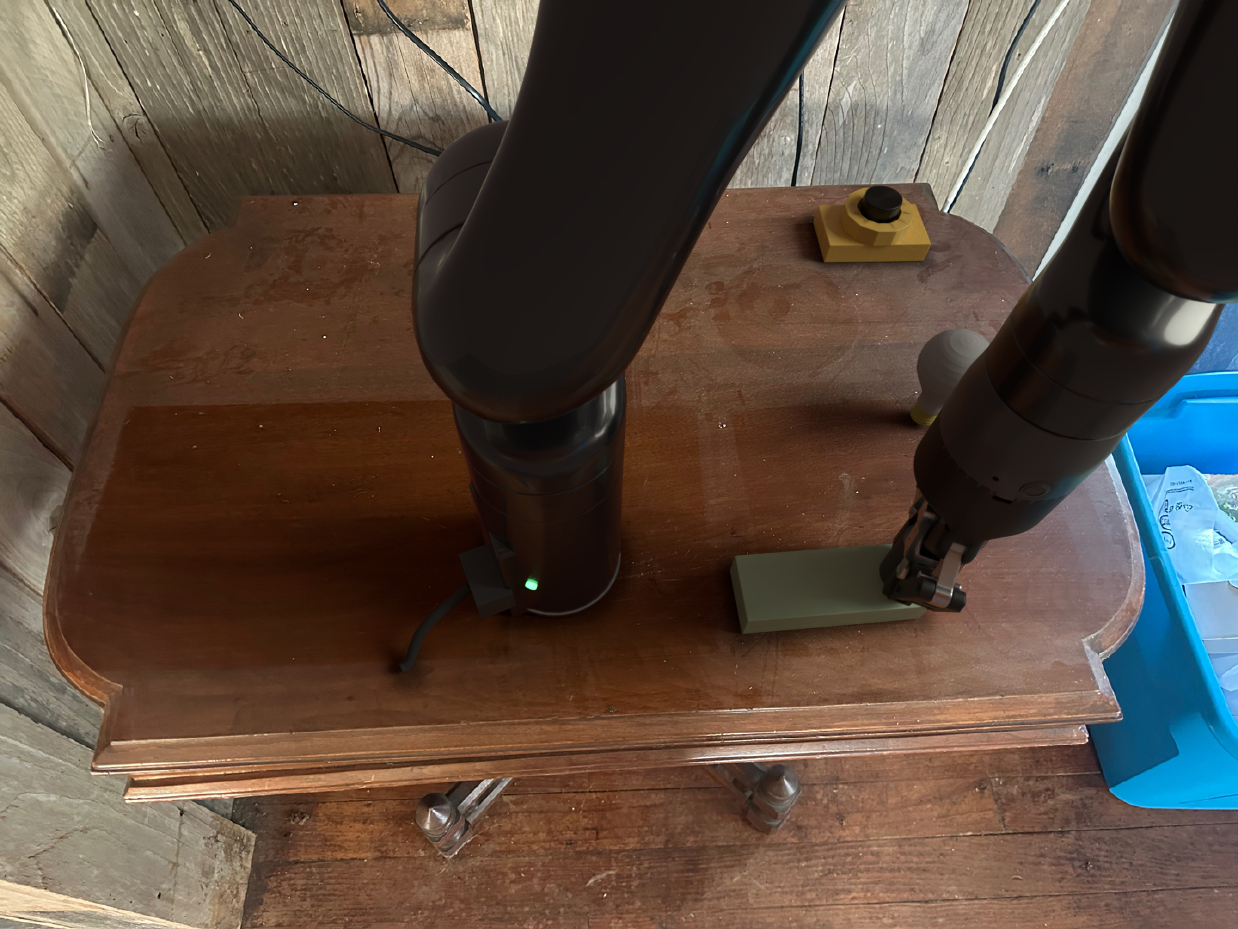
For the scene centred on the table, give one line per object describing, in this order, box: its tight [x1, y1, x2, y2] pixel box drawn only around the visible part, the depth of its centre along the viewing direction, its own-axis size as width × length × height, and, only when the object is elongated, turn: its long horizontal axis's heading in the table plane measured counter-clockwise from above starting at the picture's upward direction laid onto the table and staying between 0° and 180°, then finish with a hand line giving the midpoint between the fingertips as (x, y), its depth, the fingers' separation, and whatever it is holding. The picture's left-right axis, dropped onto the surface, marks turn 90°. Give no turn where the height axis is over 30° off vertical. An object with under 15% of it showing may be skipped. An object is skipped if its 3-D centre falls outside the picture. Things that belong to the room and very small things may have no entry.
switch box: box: [812, 187, 932, 263], centre depth 74 cm, size 10×6×4 cm, turn 92°
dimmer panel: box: [729, 543, 928, 635], centre depth 54 cm, size 13×5×2 cm, turn 95°
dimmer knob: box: [879, 523, 934, 583], centre depth 51 cm, size 3×3×5 cm
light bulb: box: [910, 328, 990, 427], centre depth 60 cm, size 5×6×10 cm
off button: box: [860, 184, 903, 223], centre depth 72 cm, size 4×4×2 cm
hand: (901, 572), depth 53 cm, fingers closed on dimmer knob, 3 cm apart
